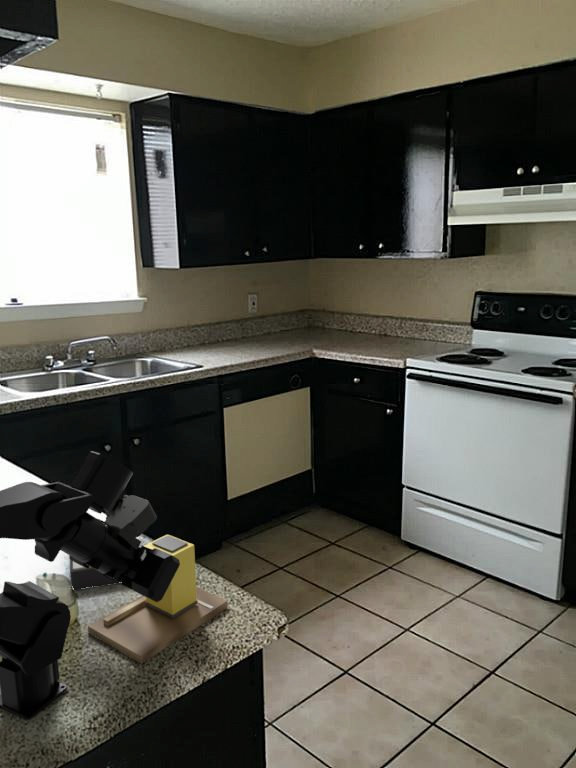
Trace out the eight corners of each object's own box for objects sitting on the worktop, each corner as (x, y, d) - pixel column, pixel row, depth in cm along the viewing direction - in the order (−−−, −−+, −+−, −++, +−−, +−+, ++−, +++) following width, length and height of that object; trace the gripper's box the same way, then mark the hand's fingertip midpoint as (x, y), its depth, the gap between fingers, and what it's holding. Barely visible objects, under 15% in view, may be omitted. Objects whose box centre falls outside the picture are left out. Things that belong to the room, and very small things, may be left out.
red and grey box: (129, 526, 127) (137, 557, 113) (130, 547, 127) (138, 581, 113) (69, 534, 123) (69, 568, 109) (71, 556, 124) (71, 592, 110)
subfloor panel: (141, 663, 91) (140, 650, 91) (88, 632, 98) (87, 620, 98) (227, 607, 105) (227, 596, 104) (175, 584, 112) (174, 573, 111)
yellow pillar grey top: (172, 618, 99) (169, 555, 97) (145, 605, 103) (141, 544, 101) (197, 603, 103) (195, 542, 101) (170, 590, 107) (167, 532, 105)
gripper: (165, 502, 86) (226, 547, 97) (79, 472, 97) (142, 516, 108) (121, 582, 82) (189, 620, 93) (36, 541, 93) (106, 579, 104)
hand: (156, 579), depth 100 cm, fingers closed, pressing on yellow pillar grey top
